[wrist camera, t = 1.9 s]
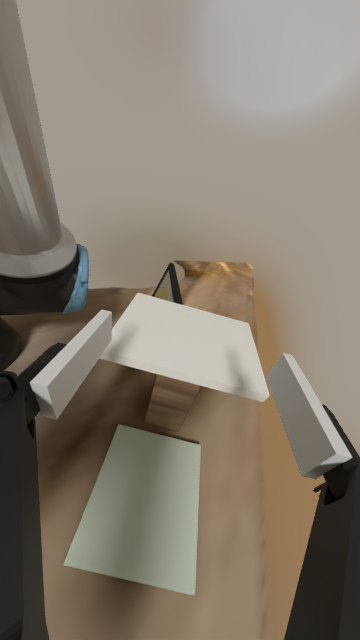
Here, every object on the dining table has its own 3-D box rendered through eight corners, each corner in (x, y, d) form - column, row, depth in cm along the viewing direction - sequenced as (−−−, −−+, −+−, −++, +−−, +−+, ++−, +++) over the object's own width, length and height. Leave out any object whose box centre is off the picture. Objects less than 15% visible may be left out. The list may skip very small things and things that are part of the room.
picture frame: (149, 301, 62) (161, 259, 54) (174, 307, 65) (189, 268, 57) (147, 352, 44) (165, 302, 36) (181, 357, 47) (206, 312, 39)
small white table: (216, 451, 31) (269, 395, 21) (100, 421, 31) (97, 349, 20) (214, 379, 43) (248, 321, 33) (131, 357, 42) (138, 291, 32)
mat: (192, 594, 20) (194, 595, 19) (64, 565, 19) (63, 565, 19) (199, 446, 31) (200, 445, 31) (118, 426, 31) (118, 424, 30)
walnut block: (177, 431, 32) (199, 390, 25) (144, 422, 32) (155, 378, 24) (183, 387, 39) (201, 344, 32) (156, 379, 39) (168, 335, 32)
